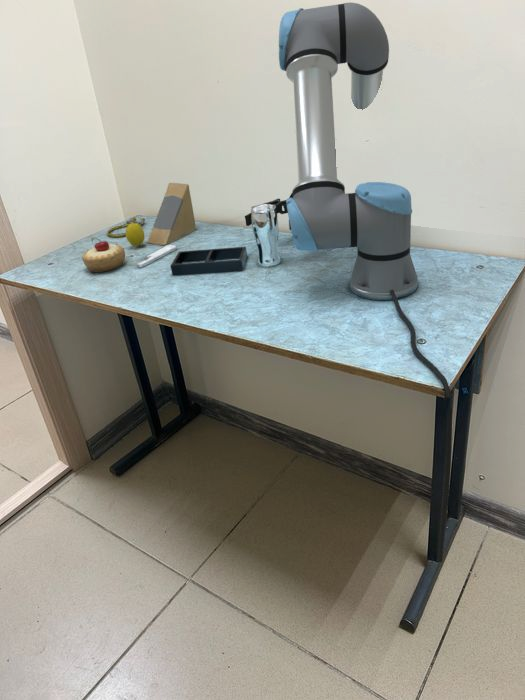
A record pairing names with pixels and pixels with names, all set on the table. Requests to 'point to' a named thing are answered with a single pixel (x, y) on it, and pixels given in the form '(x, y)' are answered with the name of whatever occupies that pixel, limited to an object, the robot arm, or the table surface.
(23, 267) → the table surface
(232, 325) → the table surface
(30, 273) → the table surface
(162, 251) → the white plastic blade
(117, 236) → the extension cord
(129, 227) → the lemon
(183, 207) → the sandwich container
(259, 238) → the beer glass
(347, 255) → the table surface
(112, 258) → the pastry
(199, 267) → the black divided tray
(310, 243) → the robot arm
